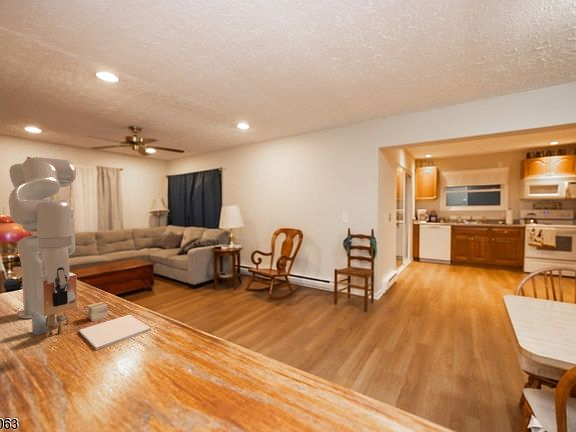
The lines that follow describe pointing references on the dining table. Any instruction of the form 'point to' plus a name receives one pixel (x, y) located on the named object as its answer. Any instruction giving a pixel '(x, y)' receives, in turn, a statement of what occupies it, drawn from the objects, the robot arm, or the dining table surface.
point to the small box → (46, 296)
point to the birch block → (97, 311)
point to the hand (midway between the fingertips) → (57, 301)
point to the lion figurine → (56, 322)
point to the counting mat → (113, 331)
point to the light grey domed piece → (38, 323)
